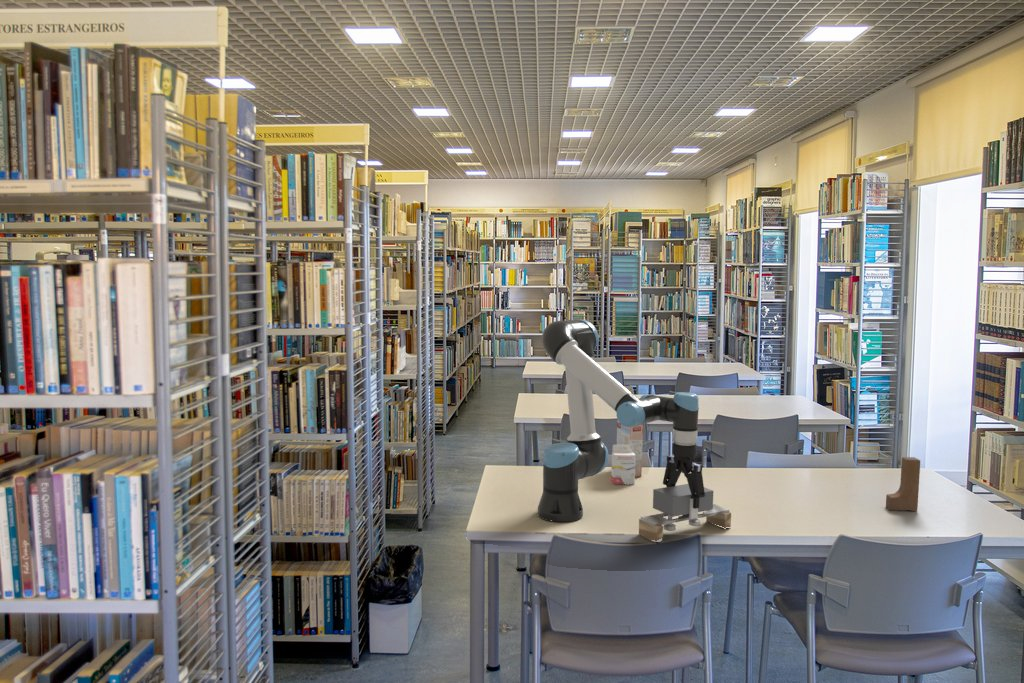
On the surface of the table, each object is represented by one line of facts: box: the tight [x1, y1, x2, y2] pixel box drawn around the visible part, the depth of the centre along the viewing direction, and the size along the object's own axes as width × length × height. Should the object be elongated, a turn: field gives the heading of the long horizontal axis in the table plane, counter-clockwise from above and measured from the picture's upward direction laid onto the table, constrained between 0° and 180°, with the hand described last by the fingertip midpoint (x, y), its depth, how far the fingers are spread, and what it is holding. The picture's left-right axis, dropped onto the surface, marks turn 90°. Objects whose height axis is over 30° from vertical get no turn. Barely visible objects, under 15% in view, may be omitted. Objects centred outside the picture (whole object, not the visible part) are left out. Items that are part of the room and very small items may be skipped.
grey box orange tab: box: [652, 483, 714, 532], centre depth 234 cm, size 16×9×12 cm, turn 118°
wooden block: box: [885, 456, 921, 512], centre depth 260 cm, size 9×4×18 cm, turn 86°
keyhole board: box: [638, 503, 732, 541], centre depth 235 cm, size 30×8×6 cm, turn 118°
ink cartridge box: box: [610, 444, 636, 486], centre depth 289 cm, size 9×5×15 cm, turn 92°
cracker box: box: [616, 419, 644, 478], centre depth 303 cm, size 14×6×21 cm, turn 13°
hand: (682, 513), depth 234 cm, fingers closed on grey box orange tab, 9 cm apart
